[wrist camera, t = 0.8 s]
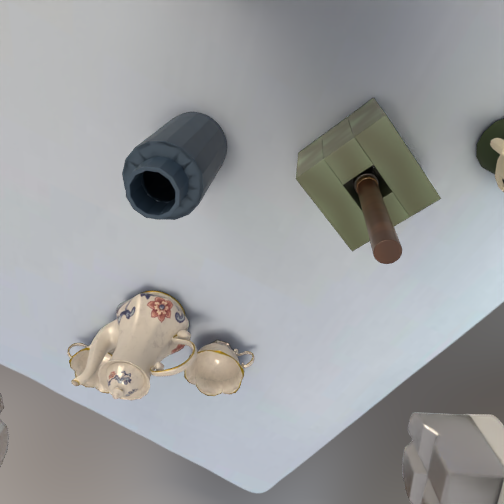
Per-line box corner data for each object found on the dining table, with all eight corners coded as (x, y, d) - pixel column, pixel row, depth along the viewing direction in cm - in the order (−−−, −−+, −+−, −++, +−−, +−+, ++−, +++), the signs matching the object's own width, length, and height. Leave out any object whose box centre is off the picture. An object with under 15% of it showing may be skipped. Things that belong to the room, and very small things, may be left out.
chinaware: (98, 366, 74) (51, 461, 60) (56, 289, 65) (-11, 380, 51) (261, 358, 69) (250, 459, 55) (240, 273, 60) (221, 368, 46)
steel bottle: (209, 101, 49) (168, 136, 35) (237, 162, 52) (210, 216, 38) (152, 127, 52) (93, 170, 38) (182, 184, 55) (138, 243, 41)
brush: (362, 146, 50) (393, 230, 31) (373, 163, 50) (411, 255, 31) (344, 159, 51) (363, 248, 32) (355, 175, 51) (382, 272, 32)
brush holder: (373, 97, 47) (385, 114, 39) (420, 169, 50) (441, 198, 42) (298, 153, 51) (295, 178, 43) (346, 216, 54) (352, 251, 46)
